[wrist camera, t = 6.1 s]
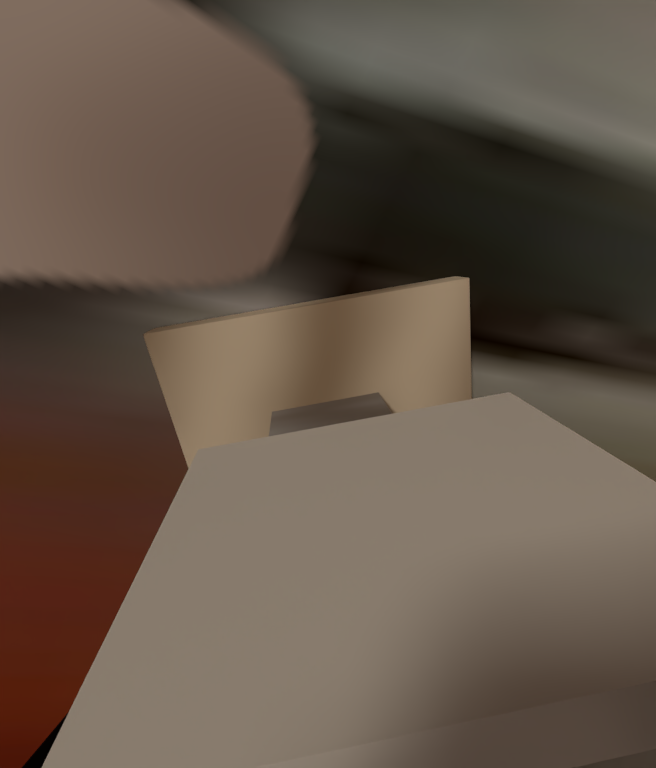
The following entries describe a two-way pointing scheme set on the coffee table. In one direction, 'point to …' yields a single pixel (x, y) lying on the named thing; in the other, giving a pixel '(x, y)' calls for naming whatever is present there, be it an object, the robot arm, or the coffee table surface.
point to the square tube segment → (388, 605)
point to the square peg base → (314, 363)
